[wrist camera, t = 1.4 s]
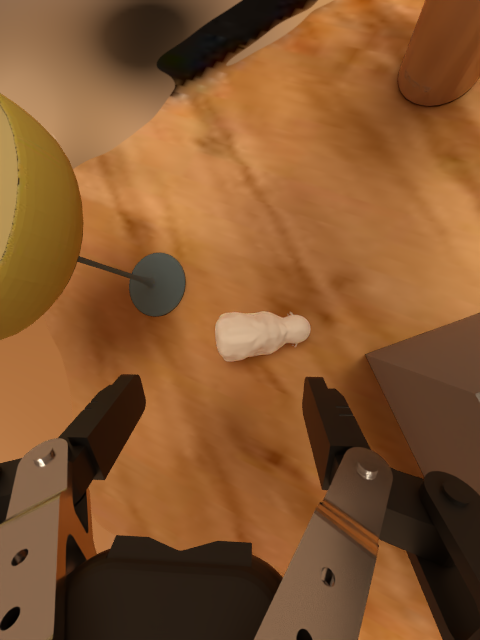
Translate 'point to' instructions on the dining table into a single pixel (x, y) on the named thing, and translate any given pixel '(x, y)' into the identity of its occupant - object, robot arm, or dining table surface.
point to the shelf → (437, 396)
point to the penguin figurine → (257, 333)
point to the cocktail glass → (54, 230)
